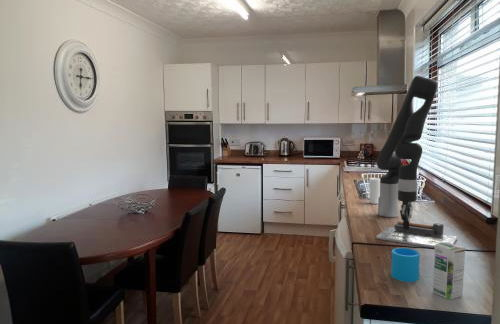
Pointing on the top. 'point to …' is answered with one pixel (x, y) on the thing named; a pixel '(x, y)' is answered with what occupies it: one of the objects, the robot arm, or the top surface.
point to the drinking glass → (374, 190)
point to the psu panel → (414, 237)
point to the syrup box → (448, 270)
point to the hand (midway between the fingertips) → (406, 229)
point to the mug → (405, 264)
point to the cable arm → (422, 228)
